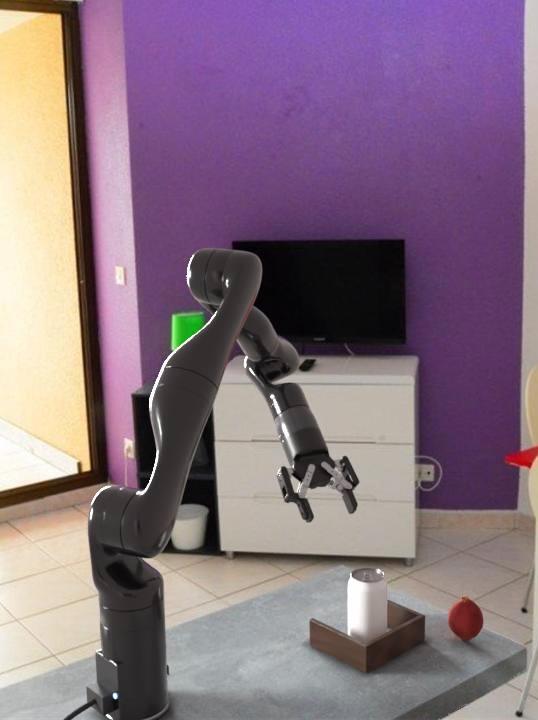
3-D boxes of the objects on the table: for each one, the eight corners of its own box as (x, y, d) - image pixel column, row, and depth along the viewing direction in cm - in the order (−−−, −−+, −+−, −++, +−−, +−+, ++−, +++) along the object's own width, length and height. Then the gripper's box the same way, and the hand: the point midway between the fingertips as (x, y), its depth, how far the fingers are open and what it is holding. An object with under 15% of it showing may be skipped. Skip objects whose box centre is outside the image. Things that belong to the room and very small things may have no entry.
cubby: (366, 673, 141) (366, 646, 140) (309, 644, 150) (309, 619, 149) (425, 640, 151) (425, 615, 150) (368, 615, 160) (368, 591, 159)
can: (387, 633, 153) (387, 566, 151) (386, 653, 147) (387, 583, 145) (348, 632, 154) (348, 565, 152) (347, 651, 147) (346, 582, 145)
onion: (462, 628, 155) (463, 584, 153) (489, 640, 150) (491, 595, 149) (440, 640, 151) (441, 595, 149) (468, 653, 146) (469, 606, 145)
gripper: (271, 431, 159) (303, 513, 151) (341, 420, 166) (375, 499, 158) (259, 452, 165) (289, 533, 157) (327, 441, 171) (359, 518, 163)
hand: (332, 516), depth 157 cm, fingers open, 8 cm apart
